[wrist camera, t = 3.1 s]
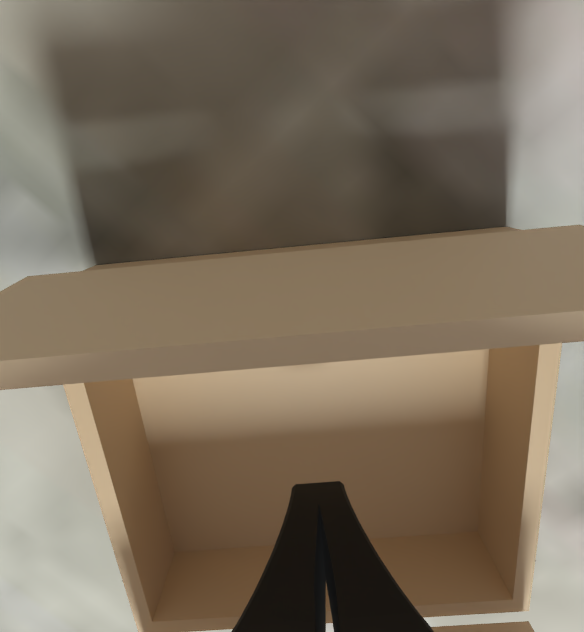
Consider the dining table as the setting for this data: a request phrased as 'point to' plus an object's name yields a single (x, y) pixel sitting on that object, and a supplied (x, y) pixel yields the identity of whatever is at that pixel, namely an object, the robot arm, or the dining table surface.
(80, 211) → the dining table surface
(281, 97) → the dining table surface
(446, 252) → the near flap
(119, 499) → the carton
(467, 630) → the far flap
